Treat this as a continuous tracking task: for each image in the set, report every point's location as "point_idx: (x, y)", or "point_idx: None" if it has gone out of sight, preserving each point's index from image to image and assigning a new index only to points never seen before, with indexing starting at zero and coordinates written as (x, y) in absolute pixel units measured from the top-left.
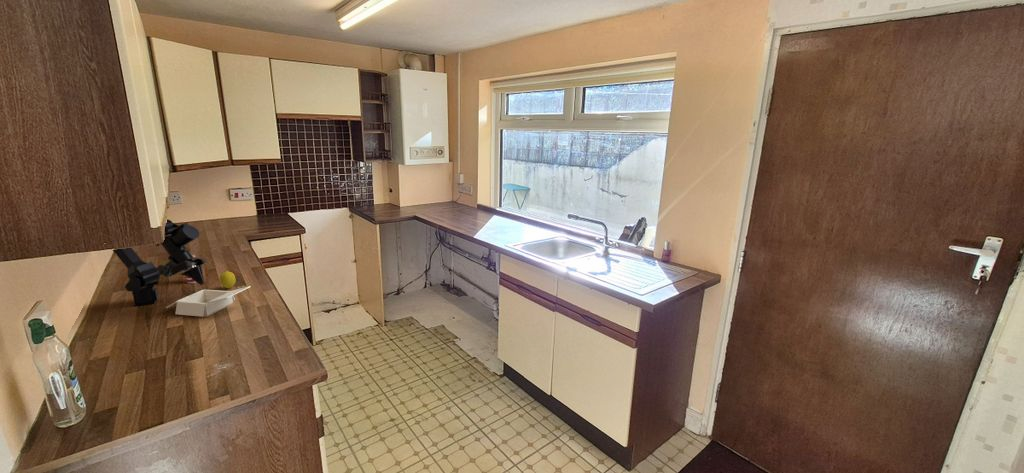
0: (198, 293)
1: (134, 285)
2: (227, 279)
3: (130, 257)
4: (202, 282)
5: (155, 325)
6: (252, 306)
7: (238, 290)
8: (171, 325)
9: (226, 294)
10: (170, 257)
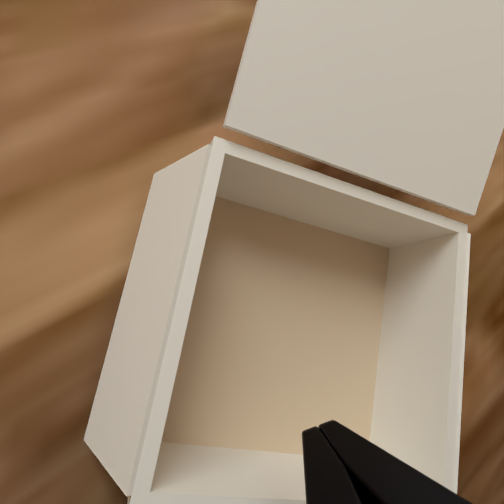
0: (230, 492)
1: None
2: None
3: None
4: (353, 436)
5: (500, 473)
6: (246, 34)
7: None
8: (492, 377)
9: (380, 97)
10: None
